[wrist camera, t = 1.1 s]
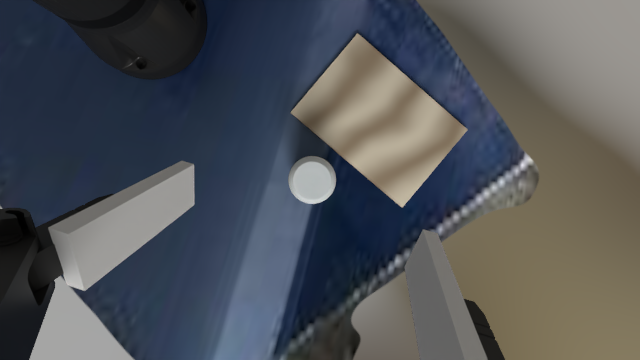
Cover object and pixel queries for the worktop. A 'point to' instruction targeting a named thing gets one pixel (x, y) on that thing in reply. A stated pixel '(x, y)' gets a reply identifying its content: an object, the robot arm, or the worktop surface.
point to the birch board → (379, 120)
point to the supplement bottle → (312, 179)
